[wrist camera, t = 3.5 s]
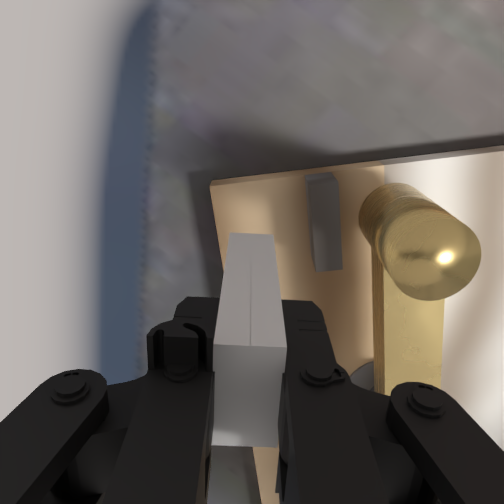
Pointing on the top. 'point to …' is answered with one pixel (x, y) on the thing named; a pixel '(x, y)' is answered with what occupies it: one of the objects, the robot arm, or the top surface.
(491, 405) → the door plate
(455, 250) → the latch lever
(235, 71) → the top surface
